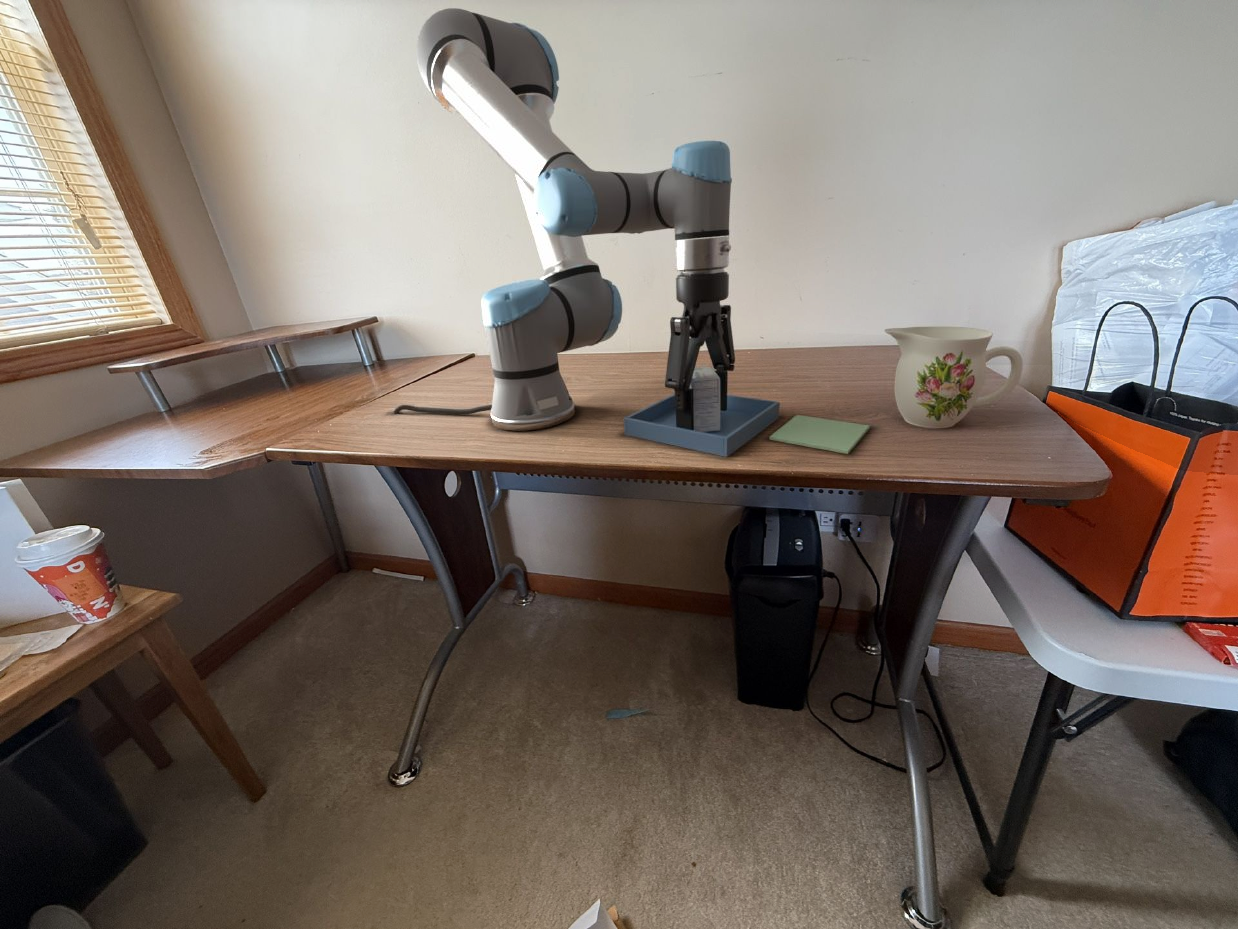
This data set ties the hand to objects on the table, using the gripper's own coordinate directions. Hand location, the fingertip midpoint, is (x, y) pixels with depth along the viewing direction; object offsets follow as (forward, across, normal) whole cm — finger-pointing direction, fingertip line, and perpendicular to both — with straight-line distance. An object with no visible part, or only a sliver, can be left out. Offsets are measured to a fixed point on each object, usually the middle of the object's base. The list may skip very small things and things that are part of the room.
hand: (702, 418), depth 77 cm
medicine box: (+1, 0, 0) cm, 1 cm away
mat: (+1, +5, -17) cm, 18 cm away
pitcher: (+1, +18, -30) cm, 35 cm away
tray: (+1, 0, 0) cm, 1 cm away
